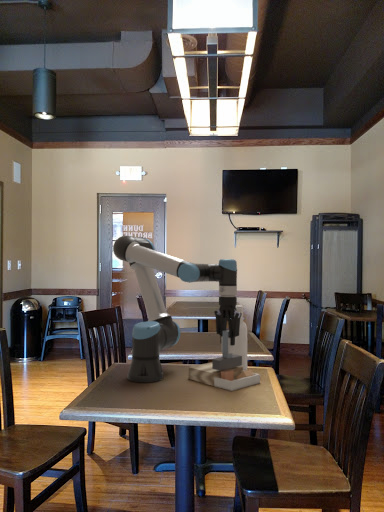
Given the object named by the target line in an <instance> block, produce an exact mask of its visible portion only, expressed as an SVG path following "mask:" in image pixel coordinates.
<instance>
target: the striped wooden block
mask: <svg viewBox="0 0 384 512" xmlns="http://www.w3.org/2000/svg"><path fill="white" fill-rule="evenodd" d="M226 370H233V371H234V380H235V379H237V378H236V377H237V376H238V375H239V374H241V373H242V371H243V367H242V366H237V367H233V368H229V369H224V370H220V371H219V370H215V369H212V361H211V362H207V363H202V364H201V363H200V364H198V365H192V366H188V380H191V381H194V382H198V383H202V384H205V385H209V386H213V387H215V386H214V377H218V378H221V371H226Z"/></svg>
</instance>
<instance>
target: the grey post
mask: <svg viewBox="0 0 384 512" xmlns="http://www.w3.org/2000/svg"><path fill="white" fill-rule="evenodd" d="M229 336H230V335H229V329H228V330H227V329H226V330H225V331H223V340H222V352H221V353H222V354H221V357H217V358H216V357H215V358H212V361H211V362H212V369H215V370H219V371H220V370H224V369H229V368H233V367H237V366H241V365H242V356H240V355H235V354H234V355H233V353H231V354H228V338H229Z"/></svg>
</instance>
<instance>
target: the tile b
mask: <svg viewBox="0 0 384 512" xmlns="http://www.w3.org/2000/svg"><path fill="white" fill-rule="evenodd" d="M254 373H255V372H253V370H252V368H250V369H247V370H246V371H243V372H242V373H241V374H239V375H238V376H237V377H236V378H237V379H241V378H244V377H248V376H252V375H254Z"/></svg>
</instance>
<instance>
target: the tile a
mask: <svg viewBox="0 0 384 512" xmlns="http://www.w3.org/2000/svg"><path fill="white" fill-rule="evenodd" d="M221 379H225V380H229V381H233V380H234V371H233V370H226V371H221Z"/></svg>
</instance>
